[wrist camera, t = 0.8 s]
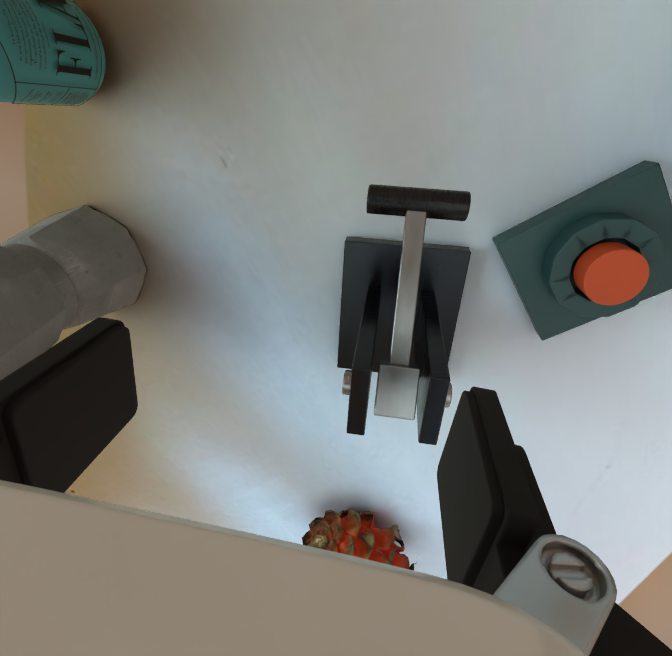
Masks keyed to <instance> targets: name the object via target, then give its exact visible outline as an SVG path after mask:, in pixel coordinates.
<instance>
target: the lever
mask: <svg viewBox="0 0 672 656" xmlns="http://www.w3.org/2000/svg"><path fill="white" fill-rule="evenodd" d="M470 202H471V194H470V192H467V191H454V190H440V189H427V188H413V187H400V186H386V185H372V184H371V185H369V189H368V197H367V213H371V214H383V215H396V216H405V224H404V233H403V242H402V251H401V260H400V269H399V278H398V287H397V296H396V304H395V313H394V322H393V331H392V340H391V349H390V358H389V361H387V360H380V361H379V369H378V378H377V387H376V396H375V406H374V415H378V416H386V417H393V418H401V419H409V420H414V419H415V410H416V402H417V393H418V385H419V376H420V369H419V367H418V366H417V365H416V364H413V363H410V354H411V346H412V337H413V328H414V320H415V311H416V302H417V293H418V285H419V276H420V267H421V259H422V250H423V241H424V233H425V224H426V218H433V219H445V220H457V221H465V220H466V219H467V216H468V213H469V209H470Z"/></svg>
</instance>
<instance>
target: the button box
mask: <svg viewBox="0 0 672 656" xmlns="http://www.w3.org/2000/svg"><path fill="white" fill-rule="evenodd" d="M493 241H494V243H495V245H496V247H497V250H498V252H499V254H500V256H501V258H502V260H503V262H504V264H505V266H506V269H507V271H508V273H509V275H510V277H511V279H512V281H513V283H514V285H515V288H516V290H517V292H518V294H519V296H520V298H521V300H522V302H523V304H524V307H525V309H526V311H527V313H528V315H529V317H530V319H531V321H532V323H533V326H534V328H535V330H536V332H537V333H538V335H539V336H540V338H541V340H545V339H548V338H550V337H553V336H555V335H558V334H560V333H563V332H565V331H568V330H570V329H573V328H575V327H578V326H580V325H583V324H585V323H588V322H590V321H592V320H595V319H597V318H600V317H609V316H611V315H614V314H616V313H619V312H621V311H624V310H626V309H629V308H631V307H634V306H635V305H637V304H638V303H639V302H640V301H642V300H645V299H647V298H650V297H652V296H655V295H657V294H660V293H662V292H665V291H667V290H670V289H672V204H671V201H670V197H669V194H668V191H667V188H666V184H665V181H664V178H663V174H662V171H661V168H660V164H659V163H655V162H650V161H643V162H641V163H639V164H637V165H635V166H633V167H631V168H629V169H627V170H625V171H623V172H621V173H619V174H617V175H615V176H613V177H611V178H610V179H608V180H606V181H604V182H602V183H600V184H598V185H596V186H594V187H592V188H590V189H588V190H586V191H584V192H582V193H580V194H578V195H576V196H574V197H572V198H570V199H568V200H566V201H564V202H562V203H560V204H558V205H556V206H554V207H553V208H551V209H549V210H547V211H545V212H543V213H541V214H539V215H537V216H535V217H533V218H531V219H529V220H527V221H525V222H523V223H521V224H519V225H517V226H515V227H513V228H511V229H509V230H507V231H505V232H503V233H501V234H499V235H497V236H496V237H494V238H493ZM604 242H619V243H622V244H624V245H626V246H628V247H630V248H631V249H633V250H635V251H637V252H638V253H640V254H641V255H643V256H644V257H645V259H646V260H647V262H648V265H649V278H648V281H647V283H646V285H645V286H644V288H643V289H642V290H641V291H640V293H638V294H637V295H636V296H635V297H633V298H632V299H630V300H628V301H626V302H624V303H621V304H617V305H601V304H598V303H595V302H593V301H592V300H590V299H589V298H588V297H587V296H586V295H585V294H584V293H583V292H582V291H581V290H580V289H579V288H578V287H577V285H576V283H575V281H574V276H573V274H574V268H575V265H576V263H577V261H578V259H579V258H580V257H581V255H582V254H583V253H584V252H585V251H587V250H588V249H590V248H591V247H593V246H595V245H597V244H600V243H604Z"/></svg>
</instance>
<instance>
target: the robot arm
mask: <svg viewBox="0 0 672 656" xmlns="http://www.w3.org/2000/svg"><path fill="white" fill-rule="evenodd" d="M137 406H138V402H137V393H136V385H135V376H134V367H133V358H132V349H131V340H130V332H129V329H128V328H127V327H125V326H124V324H123V322H121V321H118V320H113V319H108V318H102V317H99V318H97V319H95V320H93V321H92V322H90V323H89V324H87V325H86V326H84V327H83V328H81V329H79V330H78V331H76V332H75V333H73V334H72V335H70V336H69V337H67V338H65V339H64V340H62V341H61V342H59V343H58V344H56V345H55V346H53V347H51V348H50V349H48V350H47V351H45V352H44V353H42V354H41V355H39V356H37V357H36V358H34V359H33V360H31V361H30V362H28V363H26V364H25V365H23V366H22V367H20V368H19V369H17V370H16V371H14V372H12V373H11V374H9V375H8V376H6V377H5V378H3V379H2V380H0V656H672V650H671V649H669V647H667V646H666V645H665V644H664V643H662V642H661V641H660V640H659V639H658V638H657V637H655V636H654V635H653V634H652V633H651V632H650V631H648V630H647V629H646V628H645V627H644V626H642V625H641V624H640V623H639V622H638V621H636V620H635V619H634V618H633V617H632V616H631V615H629V614H628V613H627V612H626V611H625V610H623V609H622V608H621V607H620V606H619V605H617V604H616V603H615V600H616V595H617V589H616V585H615V581H614V579H613V577H612V575H611V573H610V571H609V569H608V568H607V567H606V565H605V564H604V563H603V562H602V561H601V559H600V558H599V557H598V556H597V555H595V554H594V553H593V552H592V551H591V550H590V549H588V548H587V547H586V546H584V545H582V544H581V543H579V542H577V541H576V540H574V539H571V538H568V537H566V536H563V535H556V532H555V529H554V527H553V524H552V521H551V519H550V516H549V513H548V511H547V508H546V505H545V503H544V500H543V498H542V495H541V492H540V490H539V487H538V484H537V482H536V479H535V476H534V474H533V471H532V468H531V466H530V463H529V460H528V458H527V455H526V453H525V451H524V449H523V448H522V447H521V446H518V445H515V444H514V441H513V439H512V436H511V433H510V430H509V427H508V425H507V422H506V419H505V416H504V413H503V410H502V408H501V405H500V402H499V399H498V396H497V393H496V392H495V391H494V390H489V389H483V388H478V387H472V388H471V390H470V391H463V393H462V395H461V398H460V401H459V404H458V407H457V410H456V413H455V416H454V419H453V423H452V426H451V429H450V432H449V435H448V438H447V441H446V444H445V447H444V450H443V453H442V456H441V459H440V462H439V465H438V471H437V481H438V490H439V500H440V510H441V520H442V530H443V539H444V549H445V559H446V569H447V578H448V580H447V579H443V578H440V577H436V576H433V575H429V574H426V573H421V572H417V571H413V570H409V569H405V568H401V567H397V566H392V565H388V564H384V563H380V562H376V561H372V560H367V559H363V558H359V557H355V556H350V555H346V554H341V553H337V552H332V551H328V550H324V549H319V548H315V547H310V546H306V545H301V544H297V543H292V542H288V541H283V540H279V539H274V538H270V537H265V536H261V535H256V534H252V533H247V532H243V531H238V530H234V529H229V528H224V527H220V526H215V525H211V524H206V523H202V522H197V521H192V520H188V519H183V518H179V517H174V516H169V515H165V514H160V513H155V512H151V511H146V510H142V509H137V508H132V507H128V506H123V505H118V504H113V503H109V502H104V501H99V500H94V499H90V498H85V497H80V496H76V495H71V494H66V493H64V492H65V491H66V490H67V489H68V488H69V487H70V486H71V484H72V483H73V482H74V481H75V480H76V479H77V478H78V477H79V476H80V475H81V473H82V472H83V471H84V470H85V469H86V468H87V467H88V466H89V465H90V464H91V463H92V461H93V460H94V459H95V458H96V457H97V456H98V455H99V454H100V453H101V452H102V450H103V449H104V448H105V447H106V446H107V445H108V444H109V443H110V442H111V441H112V439H113V438H114V437H115V436H116V435H117V434H118V433H119V432H120V431H121V430H122V428H123V427H124V426H125V425H126V424H127V423H128V422H129V421H130V420H131V419H132V417H133V416H134V415H135V413H136V410H137Z"/></svg>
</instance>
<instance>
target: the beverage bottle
mask: <svg viewBox="0 0 672 656" xmlns="http://www.w3.org/2000/svg"><path fill="white" fill-rule="evenodd" d="M72 1H73V0H72ZM72 1H71V0H0V102H12V103H18V104H20V103H21V104H23V103H37V104H38V105H48V104H51V105H52V104H61V105H64V106H73V105H74V104H79V103H82V102H84V101H86V100H87V101H88V100H89V99H90V98H91V97H92V96H94V95H95V94H96V92H97V91H98V90H99V88H100V86H101V84H102V82H103V79H104V75H105V64H106V62H105V53H104V48H103V45H102V42H101V39H100V36H99V34H98V32H97V30H96V28H95V26H94V25H93V23H92V22H91V20H90V19H89V18H88V16H87V15H86V14H85V13H84V12H83V11H82V10H81V9H80V7H79V6H78V5H77V4H76V3H75V2H74V1H73V2H74V3H75V4H74V3H73V2H72ZM87 101H86V102H87ZM84 103H85V102H84ZM81 105H82V104H81ZM77 106H79V105H77Z"/></svg>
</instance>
